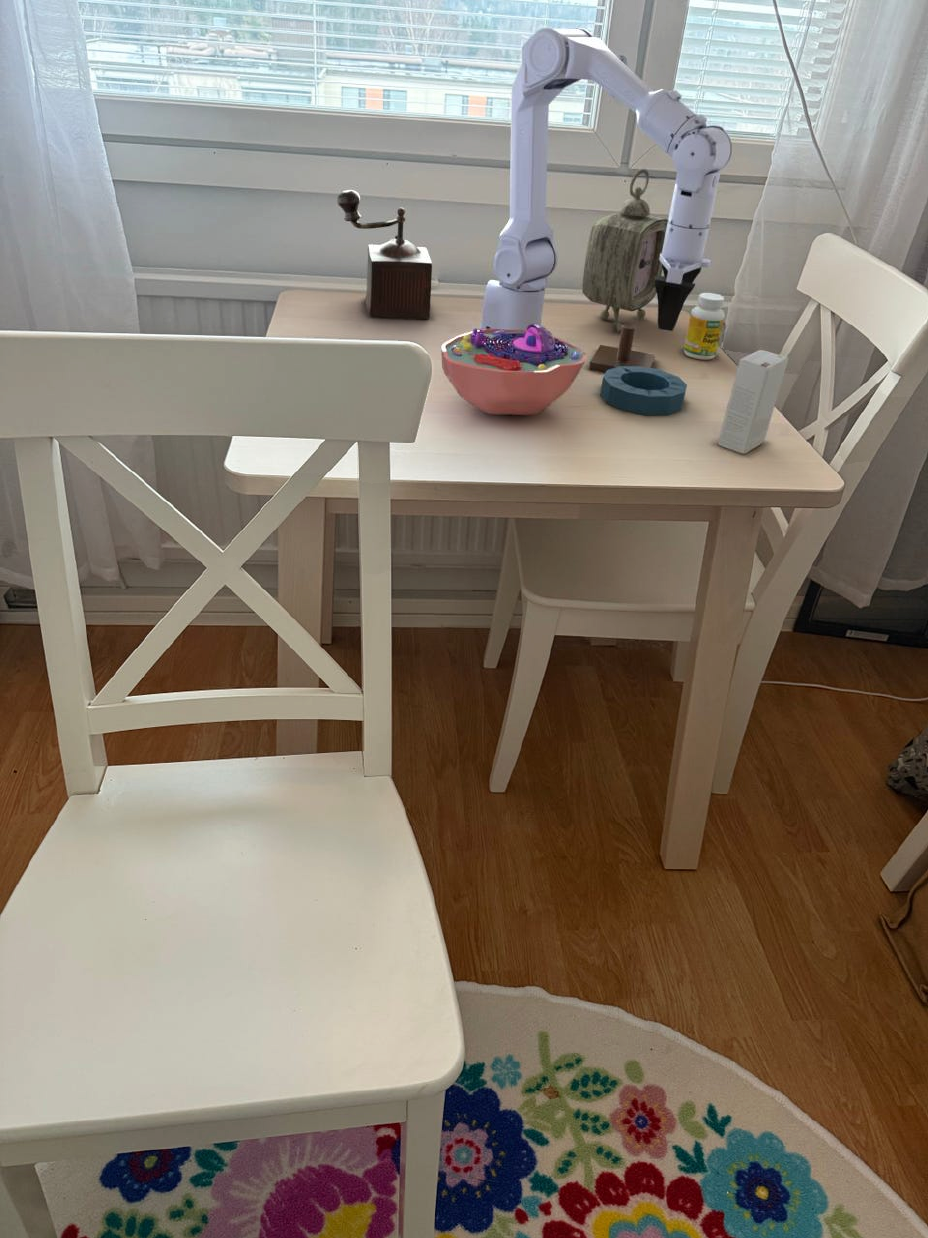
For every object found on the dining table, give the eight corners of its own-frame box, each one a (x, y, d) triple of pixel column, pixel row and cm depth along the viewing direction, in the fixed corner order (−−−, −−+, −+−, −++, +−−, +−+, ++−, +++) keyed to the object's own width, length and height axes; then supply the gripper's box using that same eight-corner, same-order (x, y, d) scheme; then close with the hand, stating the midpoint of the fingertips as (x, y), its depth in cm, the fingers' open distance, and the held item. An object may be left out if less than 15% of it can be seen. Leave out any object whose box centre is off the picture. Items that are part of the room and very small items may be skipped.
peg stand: (588, 369, 150) (595, 329, 147) (599, 351, 157) (605, 313, 154) (646, 379, 148) (654, 339, 145) (654, 361, 156) (661, 323, 152)
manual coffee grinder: (423, 300, 173) (430, 192, 163) (430, 320, 164) (437, 206, 154) (336, 296, 170) (336, 186, 160) (338, 316, 161) (339, 201, 151)
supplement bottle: (699, 347, 163) (711, 289, 158) (722, 357, 160) (736, 299, 155) (676, 351, 161) (688, 292, 155) (699, 362, 157) (712, 302, 152)
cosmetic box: (736, 433, 134) (758, 347, 127) (766, 444, 131) (790, 356, 125) (715, 445, 130) (737, 356, 123) (745, 456, 127) (769, 367, 121)
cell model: (418, 389, 137) (422, 309, 131) (544, 381, 144) (554, 304, 138) (462, 438, 125) (470, 352, 118) (598, 426, 132) (613, 344, 125)
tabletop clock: (620, 337, 164) (648, 178, 150) (573, 325, 168) (595, 168, 154) (653, 318, 175) (681, 168, 161) (607, 307, 179) (631, 159, 165)
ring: (594, 405, 138) (597, 386, 136) (608, 378, 147) (611, 360, 146) (677, 421, 136) (681, 402, 134) (686, 393, 145) (690, 374, 143)
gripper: (713, 239, 128) (691, 340, 135) (721, 218, 139) (700, 312, 147) (660, 231, 129) (641, 332, 137) (672, 211, 141) (654, 305, 148)
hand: (668, 321), depth 142 cm, fingers open, 7 cm apart
